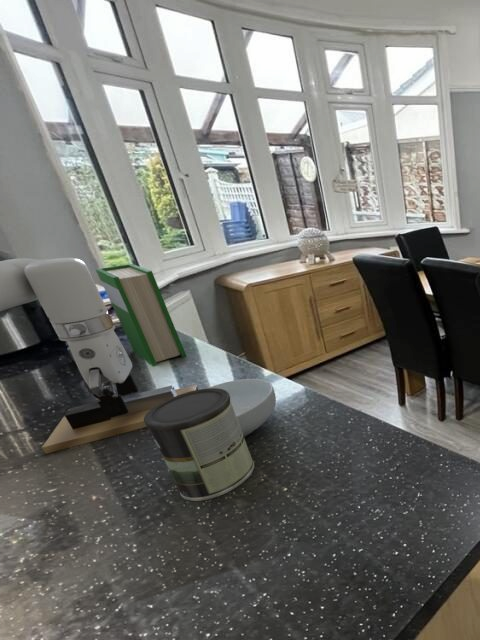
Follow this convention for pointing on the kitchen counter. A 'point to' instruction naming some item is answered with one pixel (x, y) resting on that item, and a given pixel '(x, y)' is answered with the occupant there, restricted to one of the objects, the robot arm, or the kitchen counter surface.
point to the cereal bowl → (250, 401)
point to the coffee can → (201, 443)
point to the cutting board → (97, 429)
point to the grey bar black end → (133, 402)
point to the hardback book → (141, 312)
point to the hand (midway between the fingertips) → (123, 404)
